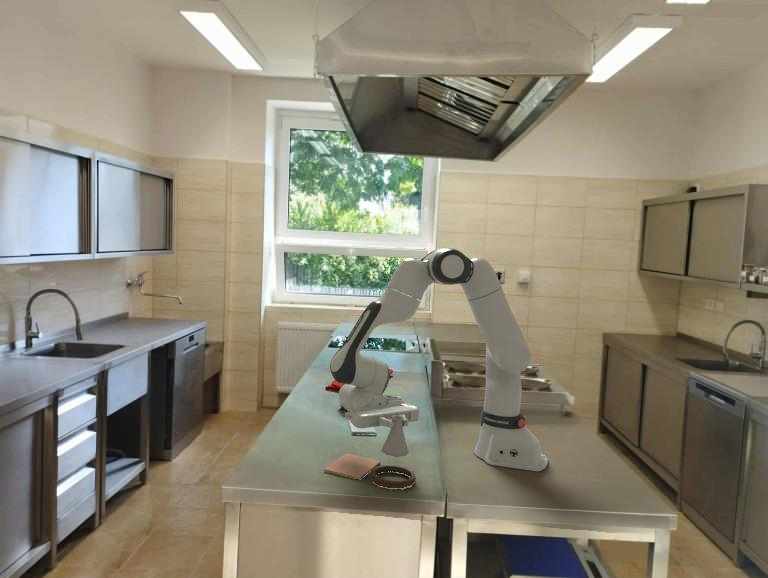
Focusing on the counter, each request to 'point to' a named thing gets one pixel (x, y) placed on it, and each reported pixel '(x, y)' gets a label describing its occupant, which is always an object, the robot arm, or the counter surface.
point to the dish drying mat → (336, 386)
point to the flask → (396, 439)
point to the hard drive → (361, 431)
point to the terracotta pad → (352, 466)
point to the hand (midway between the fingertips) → (399, 424)
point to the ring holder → (392, 484)
